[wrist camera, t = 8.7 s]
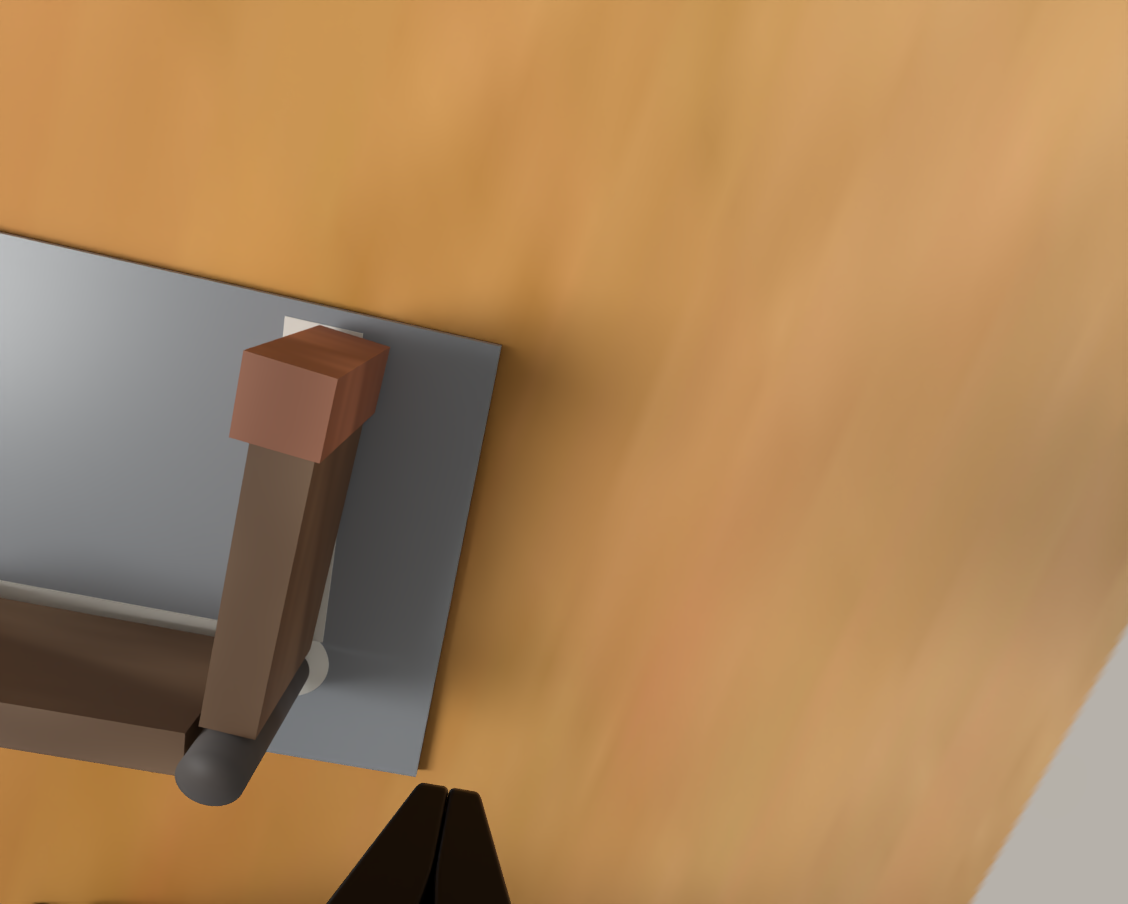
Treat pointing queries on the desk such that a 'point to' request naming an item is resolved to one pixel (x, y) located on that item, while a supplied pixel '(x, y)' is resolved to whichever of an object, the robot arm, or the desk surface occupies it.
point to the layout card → (229, 478)
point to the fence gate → (286, 512)
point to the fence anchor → (122, 699)
